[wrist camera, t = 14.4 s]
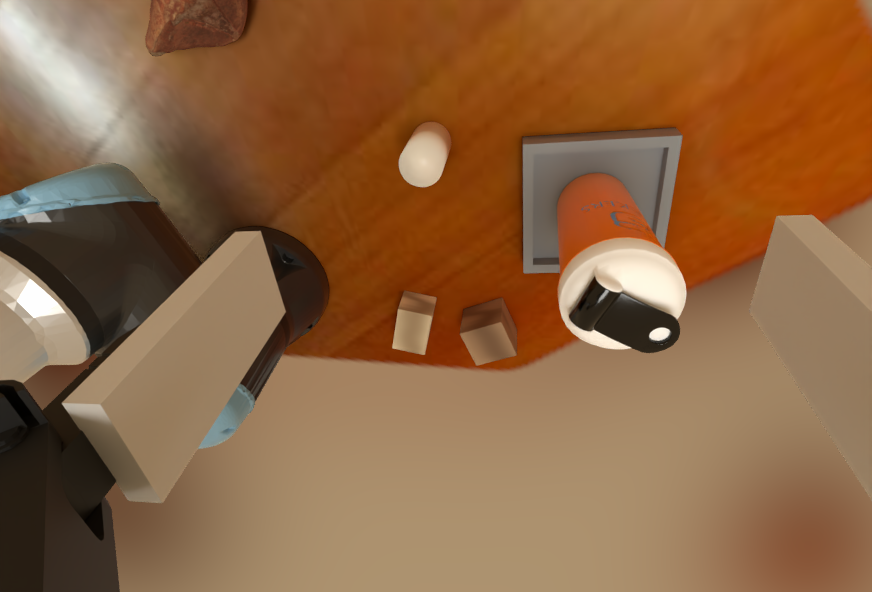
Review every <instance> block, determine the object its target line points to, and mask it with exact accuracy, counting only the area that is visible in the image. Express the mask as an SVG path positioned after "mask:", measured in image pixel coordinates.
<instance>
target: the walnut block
mask: <svg viewBox="0 0 872 592" xmlns="http://www.w3.org/2000/svg"><path fill="white" fill-rule="evenodd" d="M460 335H461V337H462V339H463V341H464V343H465V345H466V347H467V348H468V350H469V352H470V354H471V356H472V358H473V360H474V362H475V364H476V366H477V365H481V364H485V363H489V362H493V361H497V360H500V359H504V358H508V357H512V356H516V355H517V328H516V326H515V324H514V322H513V320H512V317H511V315H510V313H509V311H508V309H507V307H506V304H505V302H504V300H503V298H499V299H495V300H492V301H489V302H485V303H482V304H479V305H476V306H472V307H469V308H466V309H463V316H462V322H461V329H460Z"/></svg>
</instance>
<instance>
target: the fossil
mask: <svg viewBox="0 0 872 592" xmlns="http://www.w3.org/2000/svg"><path fill="white" fill-rule="evenodd" d="M247 10H248V3H247V0H152V1H151V8H150V21H149V26H148V30H147V34H146V46H147V49H148V51H149V53H150V54H151V55H152V56H161V55H163V54H165V53H170V52H173V51H175V50H184V49H189V48H195V47H215V46H225V45H227V44H229V43H231V42H233V41H236V40H238V38H239V37H240V36H241V34H242V32H243V29H244V26H245V22H246V18H247Z"/></svg>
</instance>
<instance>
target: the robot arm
mask: <svg viewBox="0 0 872 592" xmlns="http://www.w3.org/2000/svg"><path fill="white" fill-rule="evenodd" d="M159 205H160V202H159V201H158V200H157V199H156V198H155V197H152V196H151V195H150V193H149V192H148V191H147V190H146V189H145V187H144V186H143V185H142V184H141V182H140V181H139V180H138V179H137V178H136V176H135V175H134V174H133V173H132V172H131V171H130V170H129V169H127V168H126V167H124V166H122V165H119V164H116V163H100V164H95V165H91V166H88V167H84V168H80V169H77V170H74V171H70V172H67V173H64V174H61V175H58V176H55V177H52V178H49V179H46V180H44V181H41V182H38V183H35V184H33V185H30V186H27V187H25V188H24V189H22V190H21V191H20V190H18V191H15V192H13V193H10V194H7V195H4V196H1V197H0V592H120V591H119V581H118V570H117V560H116V550H115V540H114V530H113V520H112V510H111V507H110V505H109V503H108V501H107V500H106V498H105V495H106V494H107V493H108V491H109V490H110V489H111V487H112V486H113V485H114V484H115V482H116V483H117V485H118V486H119V488H120V489H121V491H122V492H123V493H124V495H125V496H126V498H127V499H128V501H139V502H154V503H163V501H164V500H165V498H166V497H167V495H168V494H169V492H170V491H171V489H172V487H173V486H174V484H175V483H176V481H177V480H178V478H179V477H180V475H181V473H182V472H183V470H184V469H185V467H186V466H187V464H188V463H189V461H190V459H191V458H192V456H193V454H194V453H195V452H196V450H197V449H201V448H207V447H211V446H215V445H218V444H220V443H222V442H224V441H226V440H227V439H228V438H230V437H231V436H232V435H233V434H234V433H235V432H236V430H237V429H238V428H239V426H240V425H241V423H242V422H243V420H244V419H245V418H246V416H247V415H248V414H249V413H250V412H251V411H252V410H253V408H254V405H255V401H256V400H257V397H258V396H259V394H260V393H261V391H262V389H263V387H264V386H265V384H266V382H267V380H268V379H269V377H270V375H271V373H272V372H273V370H274V368H275V367H276V365H277V363H278V361H279V360H280V358H281V356H282V354H283V352H284V351H285V349H286V347H288V346H289V345H290V344H292V343H293V342H295V341H296V340H297V339H299V338H300V337H301V336H303V335H304V334H306V333H307V332H309V331H310V330H311V329H312V328H313V327H314V326H315V325H316V324H317V322H318V321H319V319H320V318H321V316H322V314H323V312H324V310H325V308H326V306H327V303H328V299H329V285H328V280H327V277H326V274H325V272H324V270H323V268H322V266H321V264H320V263H319V261H318V260H317V258H316V257H315V256H314V255H313V254H312V253H311V252H310V250H308V249H307V248H306V247H305V246H304V245H303V244H302V243H300V242H299V241H297V240H296V239H294V238H293V237H291V236H289V235H287V234H285V233H283V232H280V231H277V230H274V229H271V228H266V227H257V226H251V227H243V228H239V229H236V230H233V231H231V232H229V233H227V234H226V235H224V236H223V237H222V238H221V239H220V240H219V241H218V242H217V243H216V244H215V245H214V246H213V247H212V248H211V249H210V250H209V252H208V253H207V255H206V257H205V259H204V262H203V264H202V262H201V261H200V260H199V258H198V257H197V256H196V254H195V253H194V252H193V250H192V249H191V248H190V246H189V245H188V244H187V242H186V241H185V240H184V238H183V237H182V236H181V234H180V233H179V232H178V231H177V229H176V228H175V227H174V225H173V224H172V223H171V221H170V220H169V219H168V217H167V216H166V215H165V213H164V212H163V211H162V209H161V208H160V207H159ZM749 312H750V314H751V315H752V317H753V318H754V320H755V321H756V323H757V325H758V326H759V328H760V329H761V331H762V332H763V334H764V335H765V337H766V338H767V340H768V341H769V343H770V344H771V346H772V348H773V349H774V351H775V352H776V354H777V355H778V357H779V358H780V360H781V361H782V363H783V365H784V366H785V368H786V369H787V371H788V372H789V374H790V375H791V377H792V378H793V380H794V382H795V383H796V385H797V386H798V388H799V389H800V390H801V392H802V394H803V395H804V397H805V399H806V400H807V402H808V403H809V405H810V406H811V408H812V409H813V411H814V412H815V414H816V415H817V417H818V419H819V420H820V422H821V423H822V425H823V426H824V428H825V429H826V431H827V432H828V434H829V436H830V437H831V439H832V440H833V442H834V443H835V445H836V446H837V448H838V449H839V451H840V452H841V454H842V456H843V457H844V459H845V460H846V462H847V463H848V465H849V466H850V468H851V469H852V471H853V472H854V474H855V476H856V477H857V479H858V480H859V482H860V483H861V485H862V486H863V488H864V489H865V491H866V493H867V494H868V496H869V497H870V499H871V500H872V267H871V266H869V265H868V264H867V263H866V262H865V261H864V260H863V259H862V258H860V257H859V256H858V255H857V254H856V253H855V252H854V251H853V250H851V249H850V248H849V247H848V246H847V245H846V244H845V243H843V242H842V241H841V240H840V239H839V238H838V237H837V236H835V235H834V234H833V233H832V232H831V231H830V230H829V229H828V228H827V227H825V226H824V225H823V224H822V223H821V222H820V221H819V220H817V219H816V218H815V217H814V216H813V215H797V216H777V217H776V220H775V224H774V227H773V230H772V234H771V237H770V241H769V244H768V248H767V251H766V254H765V258H764V261H763V265H762V268H761V271H760V275H759V278H758V282H757V285H756V289H755V292H754V296H753V299H752V302H751V306H750V309H749ZM93 354H95V355H96V356H97V357H98V358H96V359H95V360H94V361H93V362H92V363H91V364H90V365H89V369H85V370H84V371H83V372H82V373H81V374H80V375H79V376H78V377H77V378H76V379H75V380H74V381H73V382H72V383H70V385H69V386H67V387H66V388H65V389H64V390H63V391H62V392H61V393H60V394H59V395H58V396H57V397H56V398H55V399H54V400H53V401H52V402H51V403H50V404H49V405H48V406H47V407H46V408H44V409H43V410H41V408H40V407H39V406H38V404H37V403H36V402H35V400H34V399H33V397H32V396H31V395H30V393H29V392H28V390H27V389H26V388H25V386H24V385H23V382H25V381H26V380H27V379H29V378H30V377H31V376H32V375H34V374H35V373H36V372H37V371H39V370H40V369H42V368H43V367H44V366H47V365H75V364H76V365H77V364H80V363H82V362H84V361H85V360H86V359H88V358H89V357H90V356H92V355H93Z"/></svg>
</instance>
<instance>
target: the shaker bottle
mask: <svg viewBox="0 0 872 592" xmlns="http://www.w3.org/2000/svg"><path fill="white" fill-rule="evenodd" d="M557 223H558V245H559V268H560V279H559V283H558V300H559V307H560V312H561V316H562V319H563V320H564V322H565V324H566V326H567V327H568V328H569V329H570V331H571V332H572V333H573V334H575V335H576V336H577V337H579V338H580V339H581V340H583V341H585V342H587V343H590V344H592V345H596V346H600V347H603V348H609V349H629V348H633V349H635V350H638V351H640V352H644V353H654V352H658V351H662V350H665V349H667V348H669V347H671V346H672V345H674V343H675V342H676V341H677V340H678V338H679V335H680V326H679V323H678V321H677V319H678V317H679V316H680V314H681V312H682V310H683V307H684V305H685V300H686V284H685V282H684V279H683V276H682V274H681V272H680V270H679V268H678V265H677V263H676V261H675V260H674V259H673V257H672V256H671V254H670V253H668V252H667V251H666V250H665V249H664V248H663V247H662V246H661V244H660V242H659V241H658V239H657V238H656V236H655V234H654V233H653V231H652V229H651V228H650V226H649V225H648V223H647V222H646V220H645V218H644V217H643V215H642V213H641V212H640V210H639V208H638V207H637V205H636V204H635V202H634V200H633V199H632V197H631V196H630V194H629V192H628V191H627V189H626V188H625V186H624V185H623V183H621V182H620V181H619V180H618V179H617V178H615V177H613V176H611V175H608V174H604V173H590V174H586V175H583V176H580V177H578V178H576V179H575V180H573V181H572V182H570V183H569V184H568V185H567V186H566V187H565V188H564V190H563V191H562V193H561V195H560V197H559V199H558V204H557Z"/></svg>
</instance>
